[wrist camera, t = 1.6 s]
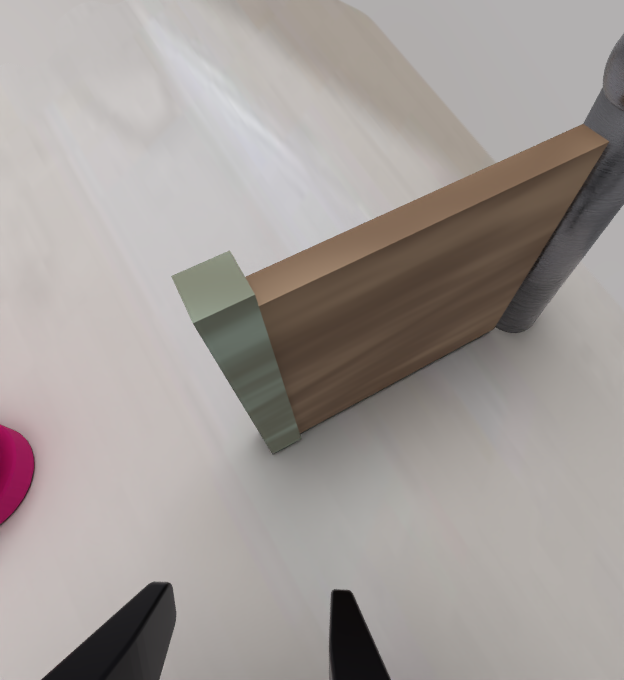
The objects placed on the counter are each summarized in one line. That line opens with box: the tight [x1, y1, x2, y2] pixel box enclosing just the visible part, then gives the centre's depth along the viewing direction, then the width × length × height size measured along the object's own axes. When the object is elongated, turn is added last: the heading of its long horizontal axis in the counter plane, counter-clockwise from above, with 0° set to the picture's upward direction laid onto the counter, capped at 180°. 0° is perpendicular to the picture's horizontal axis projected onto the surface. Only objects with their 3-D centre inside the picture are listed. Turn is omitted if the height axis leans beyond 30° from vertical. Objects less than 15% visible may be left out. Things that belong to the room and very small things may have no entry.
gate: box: [171, 124, 609, 454], centre depth 19 cm, size 2×16×14 cm, turn 118°
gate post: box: [496, 34, 624, 333], centre depth 20 cm, size 4×4×17 cm
